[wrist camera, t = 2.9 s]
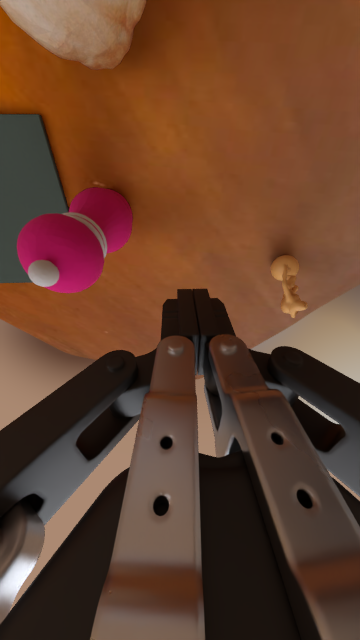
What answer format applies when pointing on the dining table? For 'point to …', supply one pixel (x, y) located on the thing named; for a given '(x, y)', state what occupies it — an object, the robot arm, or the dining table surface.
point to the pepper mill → (75, 240)
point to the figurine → (288, 283)
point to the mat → (24, 186)
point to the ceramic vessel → (79, 27)
